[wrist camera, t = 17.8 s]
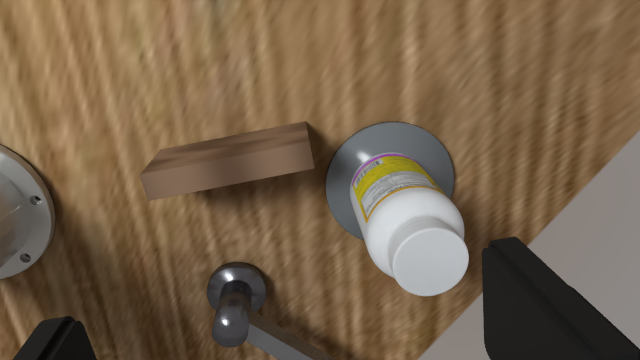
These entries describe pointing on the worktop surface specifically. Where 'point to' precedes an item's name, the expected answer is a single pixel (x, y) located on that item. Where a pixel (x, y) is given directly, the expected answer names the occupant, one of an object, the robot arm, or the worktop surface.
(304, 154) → the wooden plank block
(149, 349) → the worktop surface
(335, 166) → the coaster
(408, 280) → the supplement bottle
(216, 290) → the lever
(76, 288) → the worktop surface
